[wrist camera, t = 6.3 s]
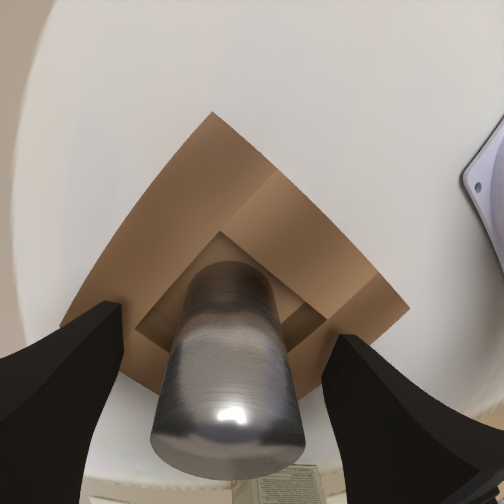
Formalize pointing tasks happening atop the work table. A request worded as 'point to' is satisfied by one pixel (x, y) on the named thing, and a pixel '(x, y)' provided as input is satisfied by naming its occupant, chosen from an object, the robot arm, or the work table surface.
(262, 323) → the pin
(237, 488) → the skincare box
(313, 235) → the socket block
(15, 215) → the work table surface
